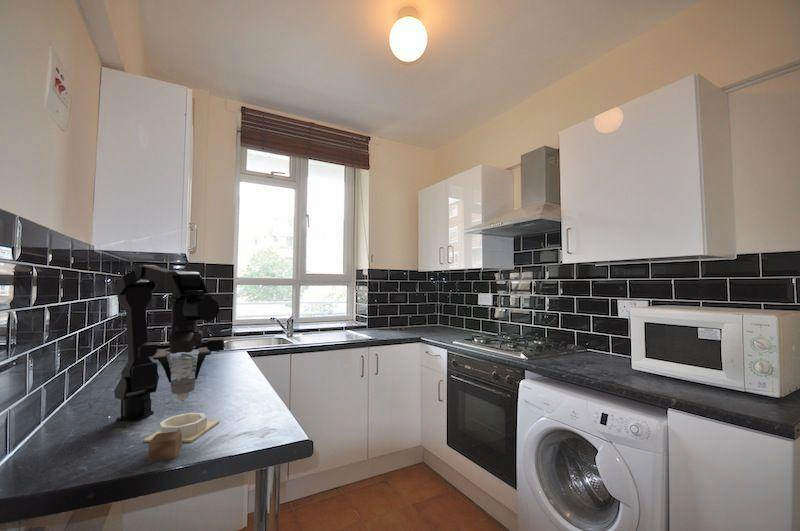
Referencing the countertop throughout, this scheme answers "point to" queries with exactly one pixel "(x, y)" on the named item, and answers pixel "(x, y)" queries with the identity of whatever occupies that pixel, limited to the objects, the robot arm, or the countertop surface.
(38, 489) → the countertop surface
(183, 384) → the light bulb
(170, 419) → the socket
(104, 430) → the countertop surface
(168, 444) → the walnut block
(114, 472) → the countertop surface
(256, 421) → the countertop surface
